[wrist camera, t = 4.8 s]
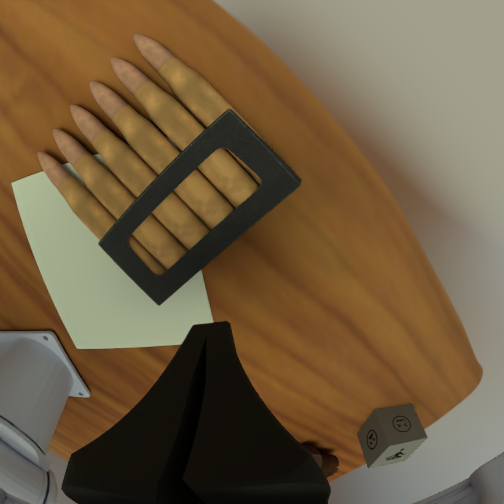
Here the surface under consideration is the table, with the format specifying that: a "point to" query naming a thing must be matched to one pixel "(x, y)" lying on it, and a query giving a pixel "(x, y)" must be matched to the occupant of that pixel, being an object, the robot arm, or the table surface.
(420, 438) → the dice cube
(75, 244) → the mat
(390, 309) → the table surface
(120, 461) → the robot arm
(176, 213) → the ammunition clip
